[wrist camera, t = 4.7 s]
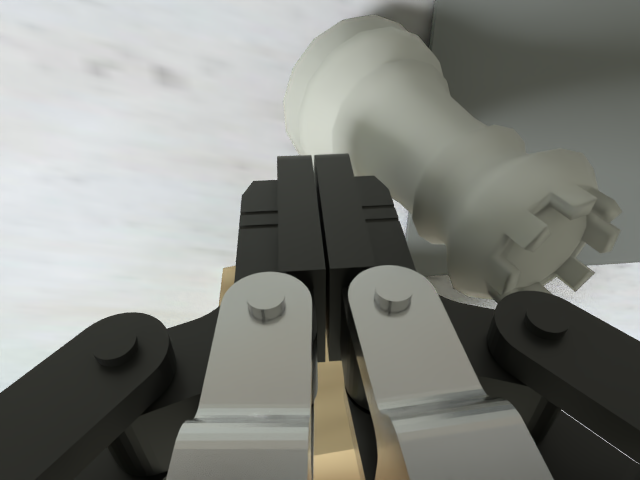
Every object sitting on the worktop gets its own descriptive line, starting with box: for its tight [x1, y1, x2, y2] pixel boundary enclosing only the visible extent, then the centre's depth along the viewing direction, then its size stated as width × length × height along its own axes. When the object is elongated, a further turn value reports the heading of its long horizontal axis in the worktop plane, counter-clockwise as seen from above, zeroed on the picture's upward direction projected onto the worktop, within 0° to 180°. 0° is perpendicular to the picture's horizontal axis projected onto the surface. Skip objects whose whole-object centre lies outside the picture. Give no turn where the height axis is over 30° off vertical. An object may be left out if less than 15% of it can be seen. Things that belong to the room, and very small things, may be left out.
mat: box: [405, 0, 640, 276], centre depth 15 cm, size 16×10×1 cm, turn 1°
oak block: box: [219, 266, 360, 480], centre depth 17 cm, size 4×4×8 cm
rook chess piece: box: [283, 15, 622, 303], centre depth 11 cm, size 4×4×8 cm
